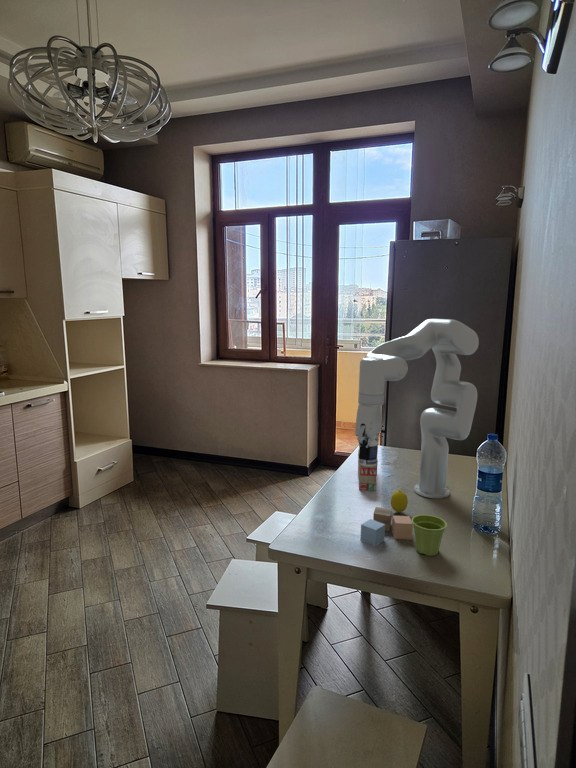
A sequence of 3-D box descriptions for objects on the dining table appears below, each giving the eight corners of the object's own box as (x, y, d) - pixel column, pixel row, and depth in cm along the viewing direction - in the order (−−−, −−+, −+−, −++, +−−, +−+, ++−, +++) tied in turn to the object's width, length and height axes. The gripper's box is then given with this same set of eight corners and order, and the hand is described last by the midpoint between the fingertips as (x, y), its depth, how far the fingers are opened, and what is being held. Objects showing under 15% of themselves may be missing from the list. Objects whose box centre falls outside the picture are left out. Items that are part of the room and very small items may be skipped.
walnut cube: (374, 521, 150) (375, 506, 149) (390, 524, 149) (391, 509, 148) (372, 528, 145) (373, 513, 145) (389, 531, 144) (390, 515, 143)
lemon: (394, 517, 153) (396, 494, 152) (387, 510, 158) (388, 487, 157) (410, 515, 155) (411, 492, 153) (401, 508, 160) (403, 486, 158)
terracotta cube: (391, 530, 144) (392, 515, 143) (408, 531, 144) (409, 516, 143) (394, 538, 139) (395, 523, 138) (411, 539, 139) (412, 523, 138)
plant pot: (403, 543, 136) (405, 515, 135) (433, 540, 138) (435, 513, 137) (419, 561, 127) (422, 531, 126) (451, 557, 130) (453, 528, 128)
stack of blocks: (357, 470, 196) (358, 441, 193) (372, 471, 195) (374, 442, 193) (359, 490, 175) (360, 458, 172) (376, 491, 174) (377, 459, 172)
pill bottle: (379, 463, 146) (380, 432, 144) (373, 468, 141) (374, 436, 139) (362, 459, 148) (364, 429, 147) (356, 464, 144) (357, 434, 142)
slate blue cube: (369, 534, 142) (370, 518, 141) (384, 540, 138) (385, 524, 137) (360, 540, 138) (361, 524, 137) (375, 546, 135) (375, 530, 134)
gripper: (370, 392, 150) (368, 447, 153) (347, 402, 136) (344, 462, 139) (393, 395, 146) (390, 451, 149) (371, 405, 132) (368, 467, 135)
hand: (368, 456), depth 144 cm, fingers closed on pill bottle, 5 cm apart
